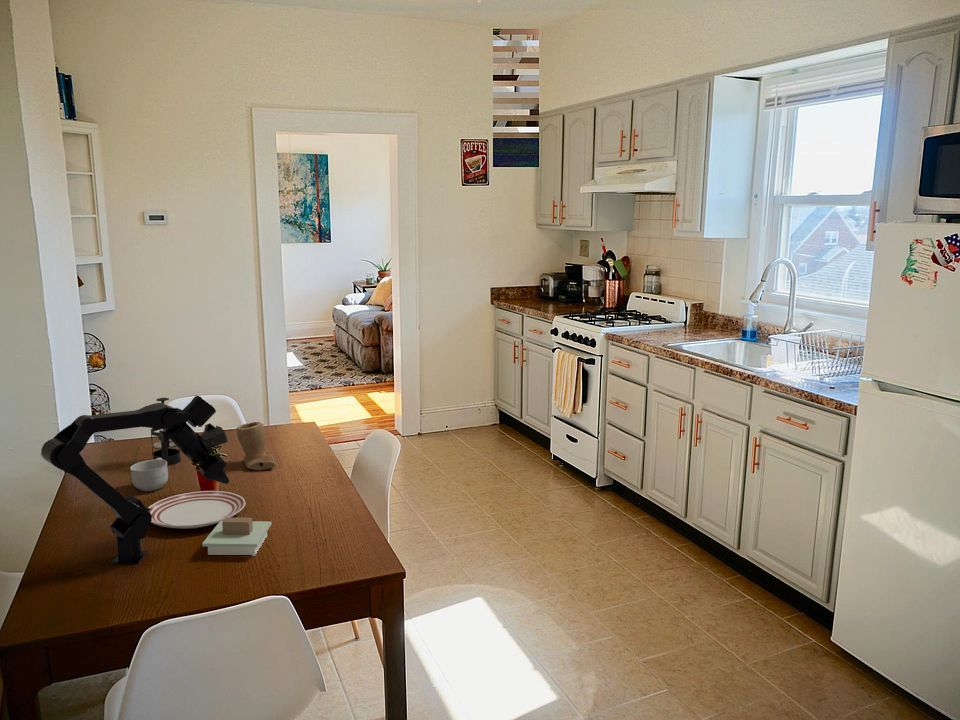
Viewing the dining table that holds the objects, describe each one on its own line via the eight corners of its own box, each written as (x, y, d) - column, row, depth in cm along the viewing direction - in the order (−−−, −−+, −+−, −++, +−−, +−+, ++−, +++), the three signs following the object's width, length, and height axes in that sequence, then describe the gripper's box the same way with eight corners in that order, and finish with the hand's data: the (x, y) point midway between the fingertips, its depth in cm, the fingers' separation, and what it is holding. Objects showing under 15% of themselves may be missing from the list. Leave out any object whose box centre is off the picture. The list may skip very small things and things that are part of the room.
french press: (153, 457, 263) (149, 395, 258) (181, 455, 266) (177, 393, 261) (150, 468, 252) (146, 403, 247) (180, 466, 255) (176, 401, 250)
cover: (257, 547, 188) (256, 531, 188) (202, 546, 188) (201, 530, 187) (271, 524, 202) (270, 509, 201) (220, 523, 202) (219, 509, 201)
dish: (254, 556, 190) (254, 545, 189) (208, 555, 190) (207, 544, 189) (267, 536, 202) (266, 525, 201) (223, 535, 202) (222, 525, 201)
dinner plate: (147, 505, 222) (147, 494, 221) (242, 494, 232) (242, 484, 231) (142, 543, 197) (141, 531, 196) (249, 529, 206) (248, 518, 206)
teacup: (155, 495, 228) (153, 471, 227) (124, 492, 231) (122, 468, 229) (181, 480, 242) (180, 456, 240) (152, 477, 244) (150, 454, 242)
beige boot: (236, 460, 262) (234, 419, 259) (271, 456, 266) (269, 416, 264) (240, 474, 248) (238, 431, 245) (277, 470, 253) (275, 428, 250)
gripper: (223, 431, 190) (258, 468, 199) (199, 407, 204) (232, 443, 213) (188, 461, 186) (225, 497, 195) (166, 435, 200) (201, 470, 209)
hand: (221, 475), depth 203 cm, fingers open, 9 cm apart
